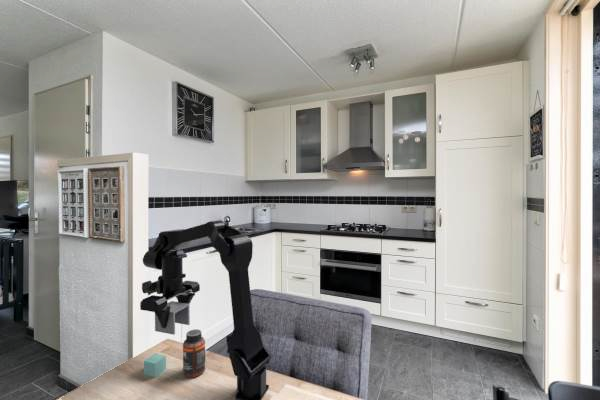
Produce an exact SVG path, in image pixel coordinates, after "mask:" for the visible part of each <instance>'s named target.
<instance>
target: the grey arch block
mask: <svg viewBox="0 0 600 400" xmlns="http://www.w3.org/2000/svg"><path fill="white" fill-rule="evenodd" d="M167 306H170V312H169V317H168V322H167V326H166V328H162V326H161V324H160V322H159V320H158V317H157V315H156V314H155V313H154V332H156V333H157V332H159V333H162V334H168V335H176V324H179V325H184V326H185V325H186V326H190V322H191V320H190V319H191V318H190V314H191V312H190V311H191V310H190V304H188V303H181V302H178V301H173V300H170V301H168V302H167Z"/></svg>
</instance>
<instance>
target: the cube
mask: <svg viewBox="0 0 600 400" xmlns="http://www.w3.org/2000/svg"><path fill="white" fill-rule="evenodd" d="M166 370H167V355H166V354H165V355H164V354H162V353H156V352H155V353H153V354H151V355H150V356H149V357H147V358H146V359H144V360H143V375H144V376H148V377H151V378H154V379H155V378H157V377H158V376H159V375H161V374H162V373H163V372H165V371H166Z"/></svg>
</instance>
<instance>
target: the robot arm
mask: <svg viewBox="0 0 600 400" xmlns="http://www.w3.org/2000/svg"><path fill="white" fill-rule="evenodd" d="M205 238H209V240H210V244H211V247H212V248H214V250H215V251H216V252H218V253H219V257H220V262H221V264H222V266H223V267H224V268H225V269H226V270H227V273H228V280H229V289H230V290H229V291H230V301H231V309H232V319H233V320H232V321H233V330H232V332H231V333H229V334H228V335H226V340H225V341H226V345H227V346H226V347H227V351H226V353H227V354H228V357H229V360H230V364H231V367H232V371H233V374H234V376H236V389H237V393H236V394H235V395H234V398H235V399H237V400H262V399H263V398H264V397H265V395H266V394H267V392H268V390H269V389H270V388H269V387H270V385H269V384H267V367H266V366H267V365H268V364H270V363H271V359H272V355H271V353H270V352H269V351H268V349H267V348H266V346H265V344H264V342H263V340H262V337H261V332H260V330H259V329H258V328H257V326H256V325H255V324H254V315H253V306H252V305H253V304H252V296H251V287H250V277H249V266H250V265H251V261H252V260H253V248H254V246H253V241H252V239H251V238H250V237H249V236H248V235H247V234H244V233H243V232H242V231H240V230H238V229H236V228H234V227H232V226H230V225H228V224H227V223H226V222H225V221H223V220H219V219H218V220H212V221H211V220H210V221H207V222H206V223H203V224H199V225H196V226H191V227H189V228H183V229H182V228H181V229H171V230H165V231H164V230H163V231H161V232H159V233H158V236H157V238H156V240H155V242H154V244H153V245H151V246H148V250H147V251H146V252H145V253H144V255H143V258H142V264H143V265H144V266H145V267H147V268H150V269H154V270H158V271H159V270H161V275H159V276H158V277H157V280H156V281H151V280H148V281H143V282H142V283H141V291H142V293H143V294H147V297H145V298H142V300H141V301H140V303H139V304H140V305H139V307H140V311H146V312H152V313H154V315H155V314H156V315H157V317H158V320H159V322H160V324H161V326H162V328H166V326H167V322H168V317H169V312H170V306H167V303H168V302H169V301H171V299H173V298H175V299H177V302H181V303H188V304H189V305H191V302H192V300H193V298H194V296H196V293H198V292H200V291H201V290H200V287H201V286H200V283H199V282H198V281H193V280H184V281H183V279H184V278H186V273H183V259H185V258H188V254H186V252H184V251H183V249H181V248H184V247H186V246H188V245H189V244H190V243H191V242H194V241H199V240H202V239H205ZM154 293H156V294H157V295H153V294H154Z"/></svg>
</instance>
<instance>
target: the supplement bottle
mask: <svg viewBox="0 0 600 400" xmlns="http://www.w3.org/2000/svg"><path fill="white" fill-rule="evenodd" d="M185 338H186V339H185V340H184V341H183V343H182V366H183V367H182V371H183V375H184V376H185V377H187V378H195V377H199V376H201V375H202V374H203V373H204V372H205V371H206V340H205V339H206V338H204V337H203V336H202V330H201V329H195V328H194V329H191V330H188V331H187V332H186V337H185Z"/></svg>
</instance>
